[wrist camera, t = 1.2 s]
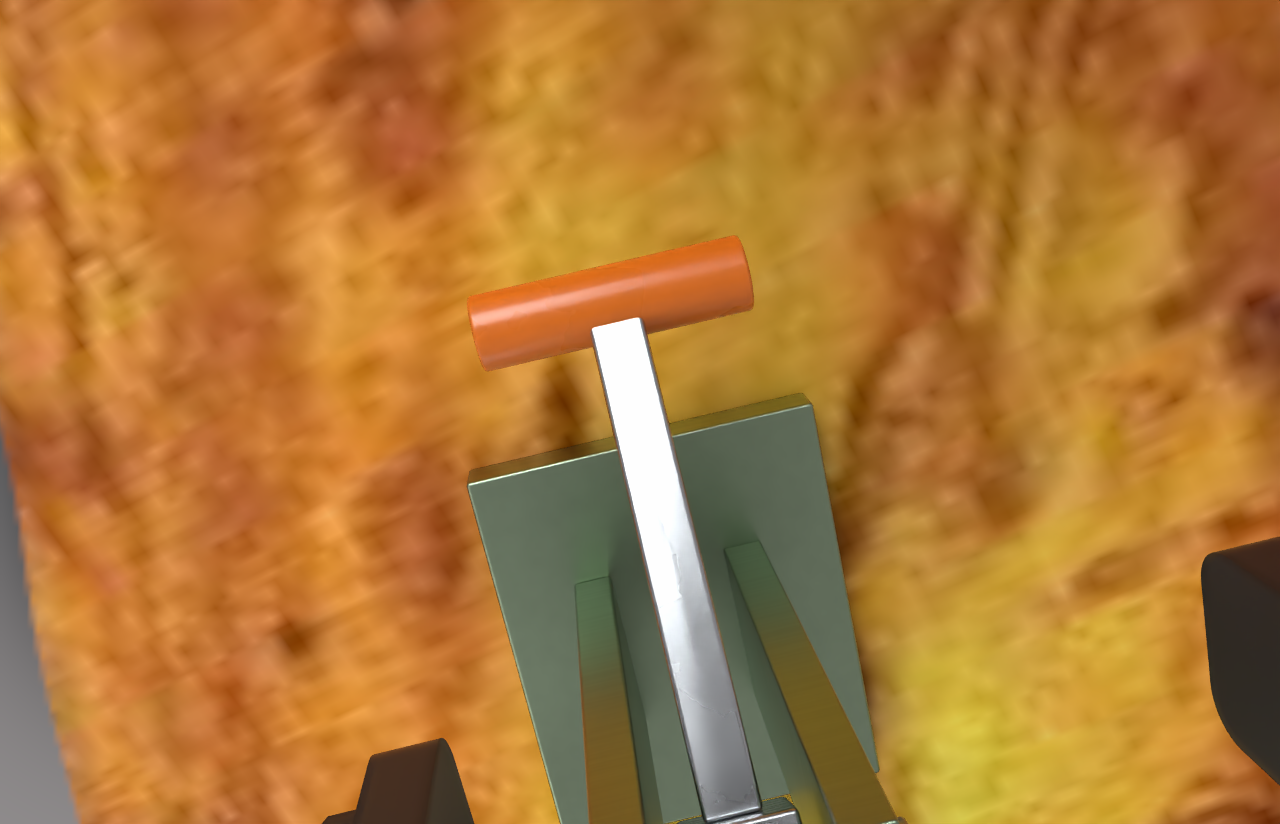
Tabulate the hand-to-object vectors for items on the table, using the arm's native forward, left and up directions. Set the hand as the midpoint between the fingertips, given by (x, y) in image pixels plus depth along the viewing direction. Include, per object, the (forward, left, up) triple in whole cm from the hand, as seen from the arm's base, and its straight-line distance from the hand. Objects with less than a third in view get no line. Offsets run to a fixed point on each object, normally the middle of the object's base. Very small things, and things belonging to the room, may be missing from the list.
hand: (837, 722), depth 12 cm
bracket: (+7, -1, -18) cm, 20 cm away
